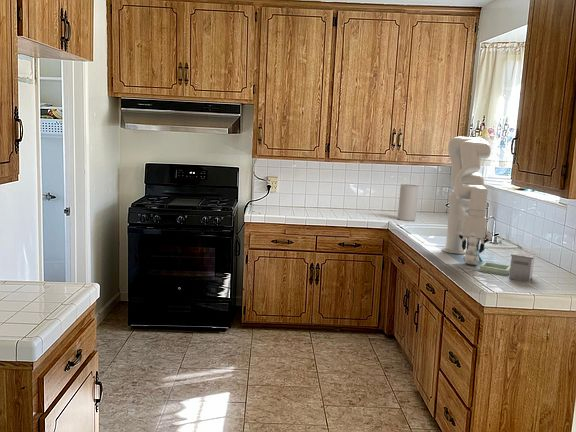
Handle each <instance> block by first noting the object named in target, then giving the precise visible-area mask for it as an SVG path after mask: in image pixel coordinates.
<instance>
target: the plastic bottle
mask: <svg viewBox="0 0 576 432" xmlns="http://www.w3.org/2000/svg"><path fill="white" fill-rule="evenodd" d="M470 236H471V237H467V238H466V249H465V250H466V254H464V257H463V259H464V263H465V264H466V265H470V266H476V265H478V264H479V261H480V260H479V256H480V255H479V256H478V251H479V249H480V244H481V240H480V239H479V238H475V237H476V234H475V233H471V234H470Z"/></svg>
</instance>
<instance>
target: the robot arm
mask: <svg viewBox="0 0 576 432" xmlns="http://www.w3.org/2000/svg"><path fill="white" fill-rule="evenodd" d="M491 151H492V148H491V145H490V143H489V142H488V141H486V140H485V139H484V138H482V137H467V136H456V137H455V136H454V137H452V138H451V139H450V140H449V142H448V151H447V152H448V155H449V159H450V162H451V187H452V188H453V189H454V192H452V193H450V194H449V197H448V220H447V231H446V239H445V246H444V247H442V249H441V250H442V251H443V252H445V253H448V254H449V253H450V254H456V255H465V254H466V249H467V237H471V236H470V234H471V233H475V234H476V237H475V238H479V239H480V243H479V249H480V251H479V252H481V253H483V252H482V251H485V250H484V247H485V244H486V243H488V241H490V240H492V238H493V235H492V234H491V233H490V232H489V231H488V230H487V223H488V221H487V216H486V210H487V201H488V194H489V193H488V192H489V190H488V188H487V187H485V181H484V176H483V175H482V173H480V172H479V171H480V170H481V162H480V159H488V158H489V157H490V156H491ZM465 213H467V215H466V214H465ZM486 236H487V238H486Z"/></svg>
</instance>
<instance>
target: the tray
mask: <svg viewBox="0 0 576 432" xmlns="http://www.w3.org/2000/svg"><path fill="white" fill-rule="evenodd" d="M510 266H511V265H508V264H501V263H496V262H489V261H483V263H481V265H479V271H480V272H485V273H489V274H495V275H501V276H509V274H510Z"/></svg>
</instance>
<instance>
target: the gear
mask: <svg viewBox="0 0 576 432" xmlns="http://www.w3.org/2000/svg"><path fill="white" fill-rule="evenodd" d="M485 249H486V247H485V246H484V251H485ZM479 251H480V248H479ZM479 251H478V256H479V261H480V263H482V262H483V259H482V258H481V257H480V254H481V253H483V251H482V252H479Z"/></svg>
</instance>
